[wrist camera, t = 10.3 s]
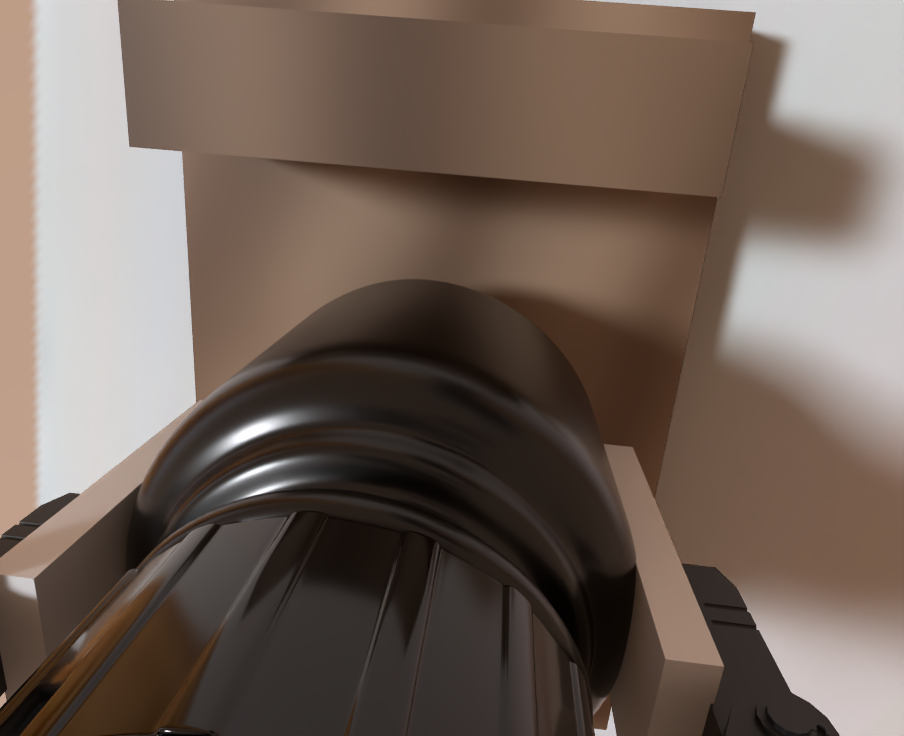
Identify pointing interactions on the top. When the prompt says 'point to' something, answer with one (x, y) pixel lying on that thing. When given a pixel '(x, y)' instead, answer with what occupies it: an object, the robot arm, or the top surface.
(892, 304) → the top surface
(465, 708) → the ink bottle
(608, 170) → the cradle
